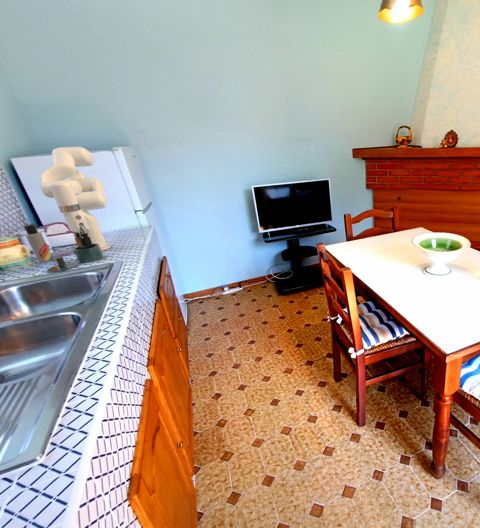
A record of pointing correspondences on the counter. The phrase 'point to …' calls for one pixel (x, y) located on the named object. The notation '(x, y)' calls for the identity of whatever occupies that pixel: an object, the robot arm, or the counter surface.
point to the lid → (61, 265)
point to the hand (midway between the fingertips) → (85, 244)
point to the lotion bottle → (38, 244)
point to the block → (80, 242)
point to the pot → (88, 253)
